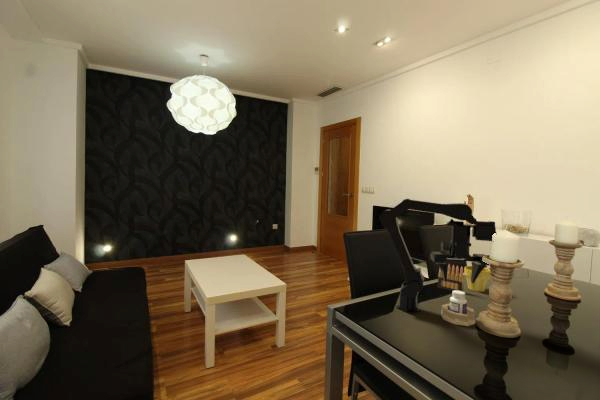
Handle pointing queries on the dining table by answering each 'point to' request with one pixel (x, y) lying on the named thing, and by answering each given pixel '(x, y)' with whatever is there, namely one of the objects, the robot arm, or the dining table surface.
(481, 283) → the plant pot
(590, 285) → the dining table surface
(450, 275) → the ammunition clip
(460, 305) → the pill bottle
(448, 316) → the beige ring washer
